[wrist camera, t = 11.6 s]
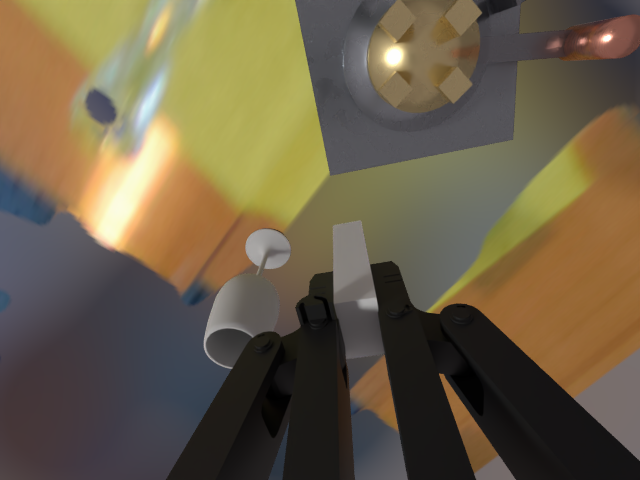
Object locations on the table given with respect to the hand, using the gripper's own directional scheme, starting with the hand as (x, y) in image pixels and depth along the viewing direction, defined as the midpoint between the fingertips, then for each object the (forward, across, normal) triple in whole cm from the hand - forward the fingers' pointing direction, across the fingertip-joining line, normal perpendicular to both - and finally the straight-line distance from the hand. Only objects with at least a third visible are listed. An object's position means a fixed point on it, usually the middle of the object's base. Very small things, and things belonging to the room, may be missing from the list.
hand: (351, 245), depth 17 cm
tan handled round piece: (+26, +16, +7) cm, 31 cm away
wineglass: (+30, -14, -14) cm, 36 cm away
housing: (+29, +10, +8) cm, 32 cm away
